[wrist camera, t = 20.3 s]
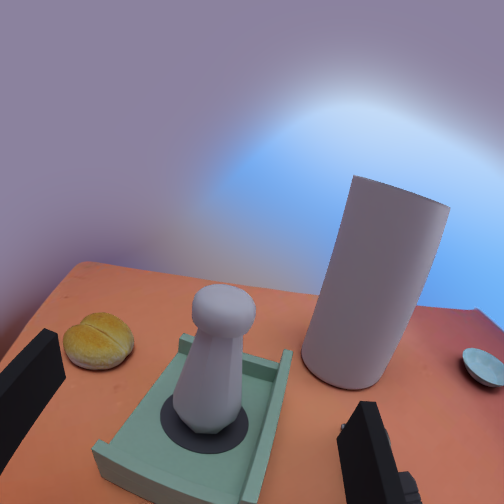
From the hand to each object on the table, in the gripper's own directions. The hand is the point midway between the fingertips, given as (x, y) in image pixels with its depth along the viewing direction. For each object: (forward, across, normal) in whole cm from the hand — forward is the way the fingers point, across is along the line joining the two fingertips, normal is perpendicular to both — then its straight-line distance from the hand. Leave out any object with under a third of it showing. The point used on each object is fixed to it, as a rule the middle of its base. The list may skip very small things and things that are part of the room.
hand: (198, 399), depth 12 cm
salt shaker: (+10, 0, -13) cm, 16 cm away
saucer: (+25, +46, -16) cm, 55 cm away
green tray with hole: (+10, 0, -16) cm, 19 cm away
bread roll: (+18, -15, -16) cm, 29 cm away
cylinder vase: (+26, +17, -16) cm, 35 cm away
